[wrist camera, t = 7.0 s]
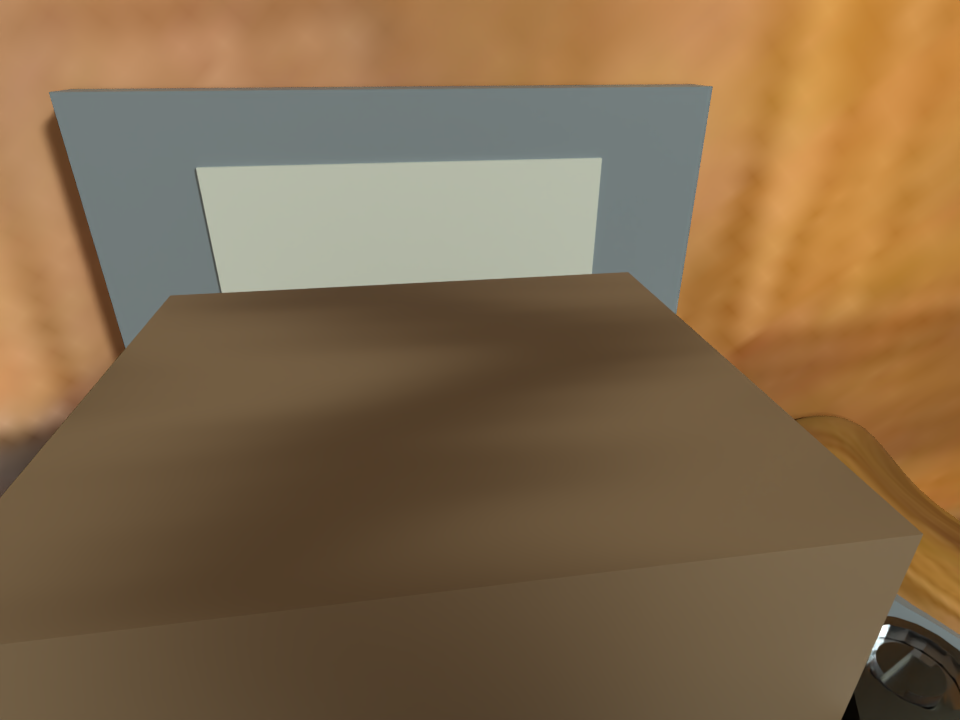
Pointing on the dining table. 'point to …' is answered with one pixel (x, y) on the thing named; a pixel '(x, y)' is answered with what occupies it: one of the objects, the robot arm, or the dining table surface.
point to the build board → (381, 185)
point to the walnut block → (437, 520)
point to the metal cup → (945, 542)
